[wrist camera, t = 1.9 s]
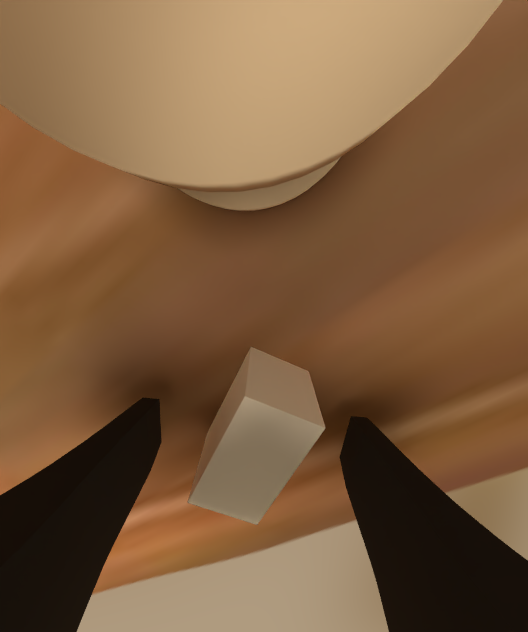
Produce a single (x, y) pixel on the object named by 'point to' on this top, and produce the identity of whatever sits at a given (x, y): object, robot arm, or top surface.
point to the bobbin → (225, 83)
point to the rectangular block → (257, 438)
